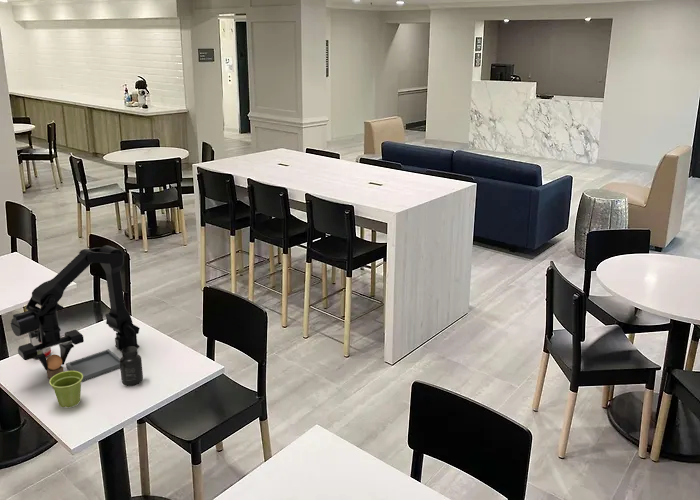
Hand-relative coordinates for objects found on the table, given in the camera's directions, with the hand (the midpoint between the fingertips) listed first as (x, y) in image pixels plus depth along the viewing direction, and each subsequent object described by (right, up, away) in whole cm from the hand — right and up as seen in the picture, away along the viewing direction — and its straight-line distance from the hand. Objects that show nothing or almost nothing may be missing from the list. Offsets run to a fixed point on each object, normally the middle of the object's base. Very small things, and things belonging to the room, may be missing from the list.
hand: (54, 367), depth 199 cm
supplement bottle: (+25, -5, +2) cm, 26 cm away
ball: (0, +2, -1) cm, 2 cm away
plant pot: (+10, -9, -11) cm, 18 cm away
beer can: (-12, +1, +14) cm, 19 cm away
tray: (+10, -2, +9) cm, 13 cm away
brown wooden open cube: (0, -4, +1) cm, 4 cm away
